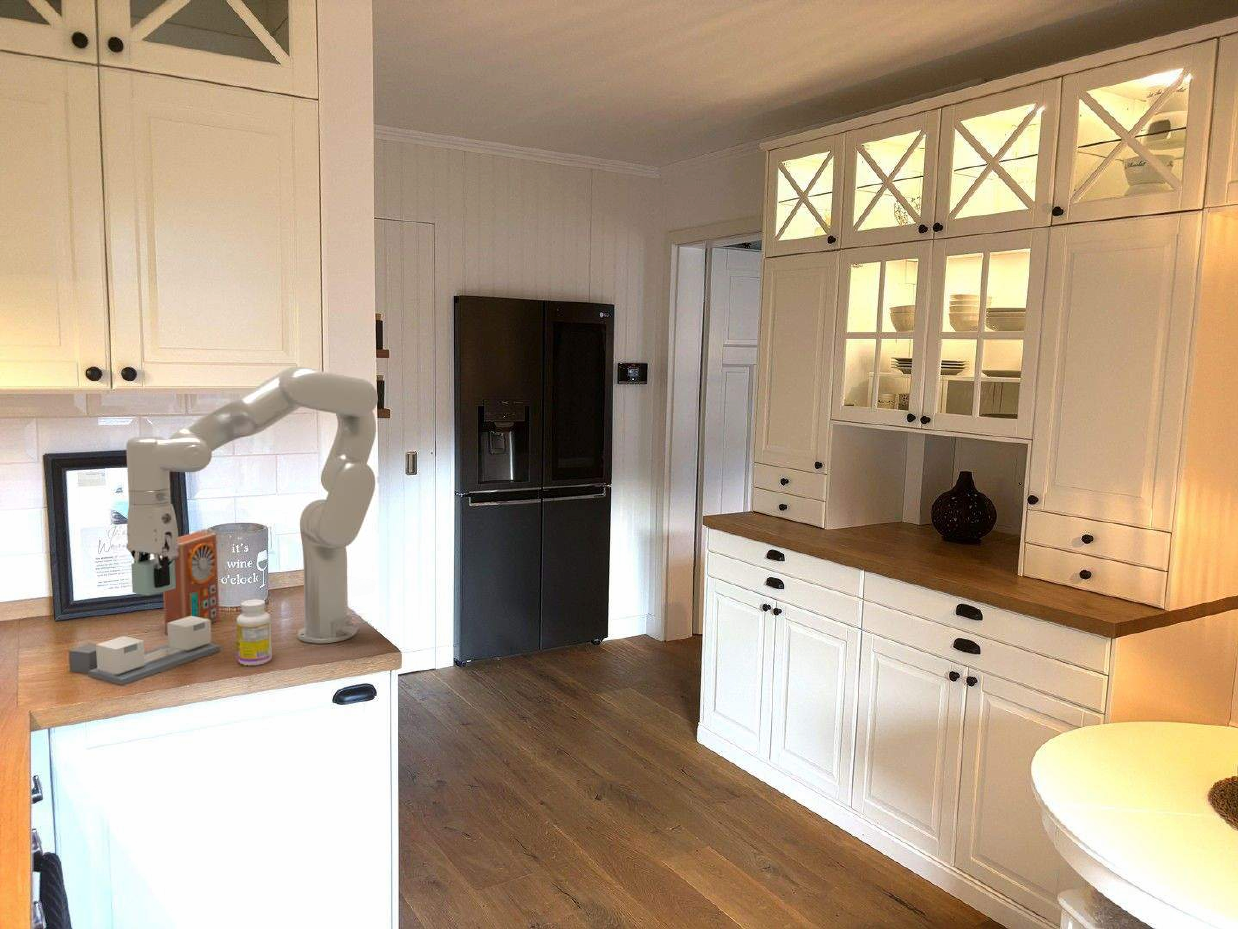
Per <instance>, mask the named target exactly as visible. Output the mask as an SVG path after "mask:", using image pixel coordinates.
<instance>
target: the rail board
mask: <svg viewBox="0 0 1238 929" xmlns="http://www.w3.org/2000/svg"><path fill="white" fill-rule="evenodd" d="M167 647H170V646H168V644H166V645H163V646H160V647H157V648H154V649H151V650H148V651H144V652H145V654H149V653H152V652H155V651H158V650H161V649H164V648H167ZM217 651H218V652H221V646H220V645H219V644H215V643H212V642H210V643H209V644H208V645H205V646H202V647H199V648H196V649H193V650H190V651H187V652H184V653H181V654H179V655H176V656H173V657H170V658H167V659H164V660H161V661H158V662H155V663H152V664H149V665H146V666H143V667H141V668H138V669H135V670H132V671H129V672H126V673H123V674H120V675H117V676H112V675H108V674H104V673H100V669H97V668H95V669H92V670H89V674H88V677H89V678H92V677H93V678H92V679H97V680H101V681H104V682H108V683H112V684H116V685H119V686H125V685H128V684H131V683H133V682H137V681H139V680H142V679H145V678H147V677H151V676H153V675H156V674H159V673H162V672H163V671H162V670H165V669H167V670H170V669H172V668H176V667H178V665H179V666H181V665H180V664H182V665H184V664H186V663H185V662H187V663H189V662H192V660H193V661H195V659H196V660H198V659H201V658H203V657H202V656H204V657H206V655H207V656H210V655H212V653H213V654H215V653H218V652H217ZM209 654H210V655H209ZM200 657H201V658H200ZM197 658H198V659H197ZM183 663H184V664H183ZM175 666H176V667H175ZM161 671H162V672H161ZM165 671H166V670H165ZM158 672H159V673H158ZM150 675H151V676H150Z"/></svg>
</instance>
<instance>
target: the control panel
mask: <svg viewBox="0 0 1238 929" xmlns="http://www.w3.org/2000/svg"><path fill="white" fill-rule="evenodd" d="M178 540H179V548H178V552H179V555H178V556H177V557H176V558H175V559H174V560H175V585H176V588H175V589H171V590H167V591H163V592H162V593H163V595H162V596H163V615H164V616H163V617H164V618H163V619H164V633H165V634H168V631H167V623H169V622H172V621H176V620H179V619H182V618H186V617H189V616H194V617H199V618H204V619H209V620H211V624H212V623H214V622H216V621H219V620H220V608H221V607H220V600H219V574H218V573H219V571H218V550H217V549H218V547H217V546H218V544H217V543H218V540H217V533H216V532H206V531H204V532H203V531H195V532H192V533H188V534H185V535H182V536H178ZM162 552H163V550H162ZM163 557H164V555H161V558H163Z"/></svg>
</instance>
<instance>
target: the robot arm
mask: <svg viewBox="0 0 1238 929" xmlns="http://www.w3.org/2000/svg"><path fill="white" fill-rule="evenodd" d="M378 401H379V398H378V391H377V390H376V388H375V386H374V385H373V384H372V383H371V382H370V381H368V380H366V379H363V378H358V377H353V376H349V375H348V376H347V375H343V374H342V375H341V374H337V373H332V372H328V371H323V370H318V369H314V368H311V367H310V368H309V367H301V366H292V367H291V366H290V367H289V368H286V369H285V370H282V371H281V372H279V373H277V374H275V375H274V376H272V377H270V378H268V379H267V380H266V381H264V382H263V383H261V384H259V385H258V386H256V387H254V388H253V389H251V390H248V391H247V392H246V393H244V394H242V395H241V396H239V397H237V398H236V399H234V400H232V401H229V402H228V403H226V404H224V405H222V406H220V407H218V408H216V409H215V410H213V411H211V412H208V413H207V414H205V415H203V416H201V417H199V418H198V419H196V420H194V421H193V422H191V423H189V424H187V425H186V426H185V427H183V428H181V429H180V430H178V431H177V432H175V433H173V434H172V435H171V436H170V437H169V438H167V439H165V438H164V437H160V436H137V437H131V438H129V439H128V440H127V442H126V446H125V448H126V468H127V469H126V470H127V472H126V473H127V484H128V486H127V487H128V488H127V489H128V490H127V491H128V508H127V509H128V510H127V519H126V520H127V522H126V536H127V537H126V538H127V542H126V543H127V544H126V546H125V548H126V549H127V551H128V552H130V555H131V556H132V558H133V563H137V562H142V561H147V560H151V555H153V559H154V560H155V565H156V569H154V584H155V588H160V587H164V586H168V585H170V569H169V567H170V566H171V563H172V561H173V560H174V559H175V558H176V557H177V556H178V555H179V552H178V548H179V540H178V537H179V531H178V530H179V529H178V522H177V517H176V513H175V508H174V505H173V503H171V485H170V484H171V482H170V472H175V473H176V472H178V473H196V472H197V473H198V472H200V471H202V470H204V469H205V468H206V467H208V466H209V464H210V463H211V461H212V457H213V453H212V452H213V451H216V450H217V449H219V448H221V447H223V446H224V445H226V444H228V443H230V442H233V441H235V440H238V439H241V438H246V437H251V436H253V435H256V434H259V433H261V432H263V431H265V430H267V429H268V428H270V427H271V426H273V425H274V424H275V423H277V422H279V421H280V420H282V419H284V418H285V417H287V416H288V415H290V414H292V413H294V412H295V411H296V410H298V409H299V408H305V409H310V410H315V411H319V412H324V413H325V412H326V413H331V414H335V416H336V419H337V430H336V432H335V433H336V434H335V437H334V439H333V440H334V441H333V443H332V445H331V448H330V451H329V453H328V456H327V458H326V461H325V463H324V465H323V469H322V470H321V474H320V483H321V485H322V487H323V489H324V490H325V491H326V492H327V495H326V499H317V500H314V501H311V502H310V503H308V504H307V505H306V506H305V507H304V509H303V510H302V512H301V514H300V519H299V531H300V538H301V548H302V560H303V561H302V562H303V563H302V564H303V593H304V594H303V604H304V627H302V628H300V629H299V630H298V631H297V638H298V639H299V640H300V641H302V642H305V643H310V644H332V643H338V642H342V641H346V640H348V639H350V638H352V637H354V636H355V635H356V634H357V631H358V630H359V629H360V624H359V623H355V622H354V623H353V622H352V616H351V615H349V608H348V606H349V603H348V601H349V600H348V593H349V592H348V555H347V554H348V553H347V547H348V546H350V545H351V544H352V543H353V542H354V541H355V539H356V538H357V537H358V534H359V533H360V530H361V528H362V525H363V523H364V520H365V517H366V515H367V512H368V510H369V508H370V505H371V501H372V500H373V497H374V493H375V489H376V477H375V476H376V475H375V473H374V471H373V469H372V467H371V466H370V465H369V464H368V461H369V458H370V457H371V456H370V455H371V453H372V450H373V446H374V442H375V439H376V434H377V423H376V417H375V415H374V410H375V408H376V407H377V406H378ZM162 550H163V552H162ZM162 555H164V557H163V558H162ZM160 558H162V560H161V559H160Z"/></svg>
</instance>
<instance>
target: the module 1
mask: <svg viewBox="0 0 1238 929" xmlns="http://www.w3.org/2000/svg"><path fill="white" fill-rule="evenodd" d="M96 644H97V643H95V642H94V643H93V642H88V643H87V642H86V644H82V645H79V646H77V647H74V648H72V649H69V650H68V661H69V662H68V664H69V672H70V671H71V673H77V672H78V673H79V674H87V675H89V670H92V669H95V668H97V654H96Z"/></svg>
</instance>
